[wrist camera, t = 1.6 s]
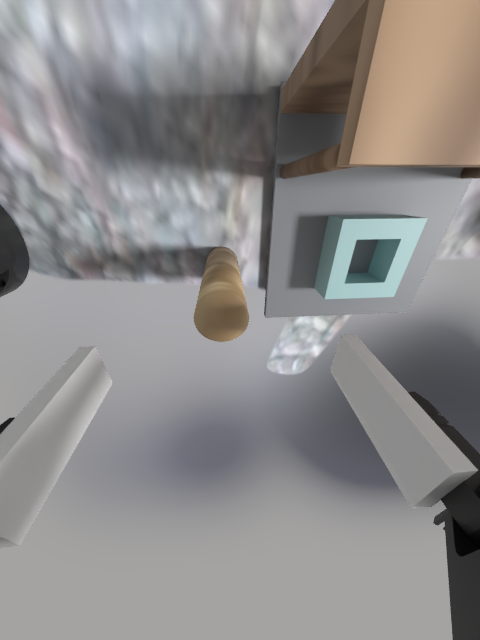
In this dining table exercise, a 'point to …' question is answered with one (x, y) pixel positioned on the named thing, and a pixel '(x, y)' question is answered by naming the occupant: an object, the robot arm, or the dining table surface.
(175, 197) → the dining table surface
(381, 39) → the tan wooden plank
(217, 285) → the oak peg
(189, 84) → the dining table surface
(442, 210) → the socket board
